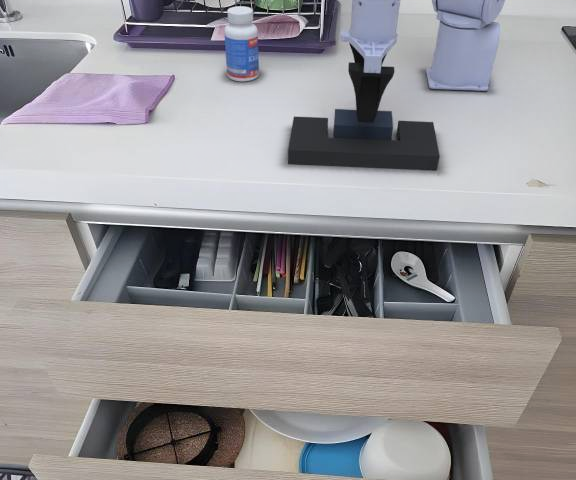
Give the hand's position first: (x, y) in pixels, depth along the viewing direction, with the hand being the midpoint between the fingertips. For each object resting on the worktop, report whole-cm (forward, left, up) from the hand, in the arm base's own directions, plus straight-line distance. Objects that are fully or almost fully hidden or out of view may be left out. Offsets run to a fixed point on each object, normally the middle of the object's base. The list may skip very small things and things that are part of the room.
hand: (365, 108), depth 79 cm
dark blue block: (0, 0, -5) cm, 5 cm away
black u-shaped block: (0, +2, -5) cm, 5 cm away
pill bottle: (+20, -22, -5) cm, 30 cm away
